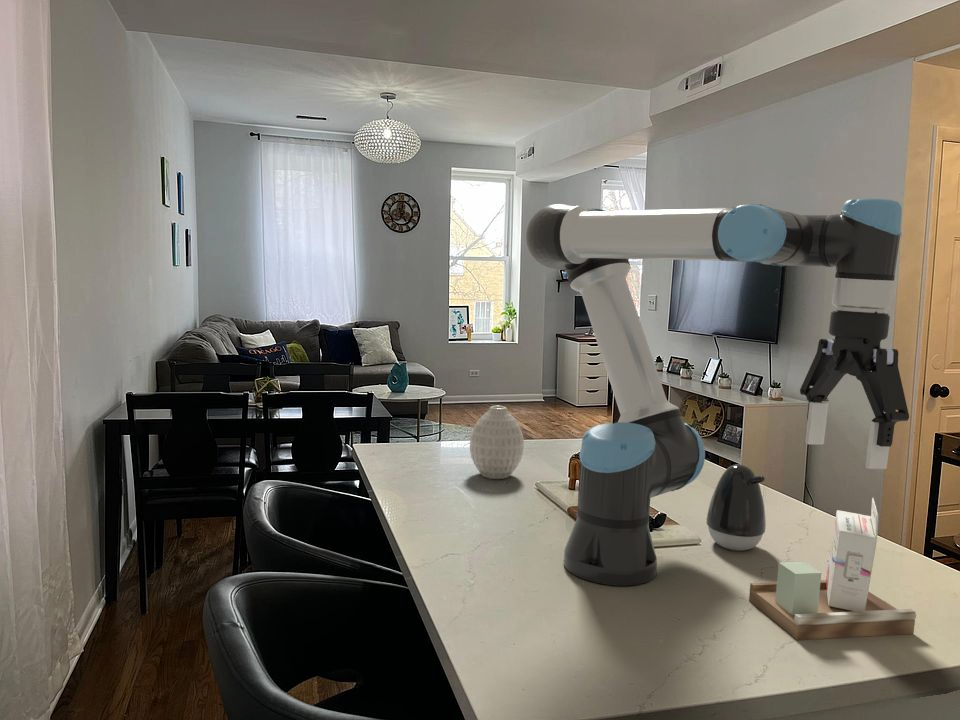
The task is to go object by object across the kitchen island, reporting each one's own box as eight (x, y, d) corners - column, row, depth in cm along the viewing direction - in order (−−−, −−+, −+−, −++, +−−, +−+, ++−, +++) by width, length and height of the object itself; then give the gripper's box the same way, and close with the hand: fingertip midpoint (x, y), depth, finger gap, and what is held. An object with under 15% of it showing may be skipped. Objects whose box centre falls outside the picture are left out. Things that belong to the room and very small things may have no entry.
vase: (531, 475, 176) (535, 407, 174) (504, 486, 165) (508, 414, 163) (486, 465, 183) (489, 400, 181) (458, 476, 172) (460, 406, 170)
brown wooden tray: (797, 640, 98) (799, 617, 98) (748, 600, 110) (750, 580, 110) (914, 634, 101) (916, 612, 101) (854, 596, 113) (857, 576, 113)
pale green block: (791, 615, 101) (795, 573, 100) (775, 602, 105) (778, 562, 104) (817, 614, 102) (821, 572, 101) (800, 601, 106) (803, 561, 105)
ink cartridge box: (823, 580, 112) (838, 489, 109) (859, 588, 110) (875, 496, 107) (826, 606, 104) (842, 509, 101) (865, 615, 102) (882, 517, 99)
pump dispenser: (736, 560, 126) (743, 474, 125) (693, 539, 135) (699, 460, 134) (777, 551, 131) (784, 469, 129) (732, 533, 140) (739, 455, 138)
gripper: (954, 317, 92) (932, 480, 95) (828, 306, 117) (813, 435, 119) (901, 315, 91) (880, 480, 93) (785, 304, 115) (771, 435, 118)
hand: (843, 455), depth 106 cm, fingers open, 13 cm apart
